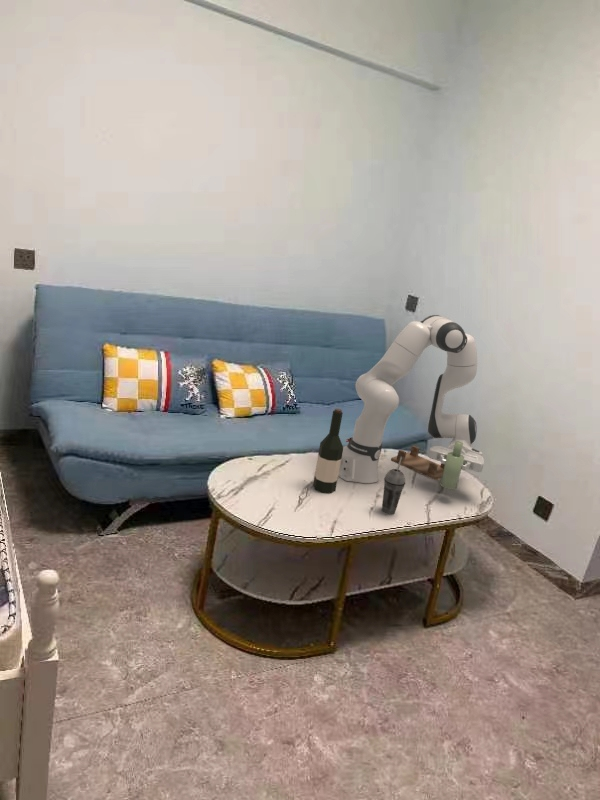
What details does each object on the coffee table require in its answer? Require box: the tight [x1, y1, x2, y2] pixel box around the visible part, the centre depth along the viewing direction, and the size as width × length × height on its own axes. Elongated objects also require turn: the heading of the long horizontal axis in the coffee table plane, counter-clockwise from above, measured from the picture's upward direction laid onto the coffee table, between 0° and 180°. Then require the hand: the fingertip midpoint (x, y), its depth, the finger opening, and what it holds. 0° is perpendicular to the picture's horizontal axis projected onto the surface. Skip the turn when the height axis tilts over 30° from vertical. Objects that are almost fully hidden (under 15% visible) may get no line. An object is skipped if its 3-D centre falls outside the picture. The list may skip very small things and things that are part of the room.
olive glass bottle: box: [439, 441, 464, 490], centre depth 226 cm, size 6×6×17 cm
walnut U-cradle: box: [390, 445, 445, 481], centre depth 259 cm, size 22×14×5 cm, turn 48°
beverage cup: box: [381, 457, 406, 516], centre depth 211 cm, size 7×7×20 cm
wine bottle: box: [312, 408, 344, 494], centre depth 219 cm, size 8×8×30 cm
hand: (453, 465), depth 225 cm, fingers closed on olive glass bottle, 6 cm apart
